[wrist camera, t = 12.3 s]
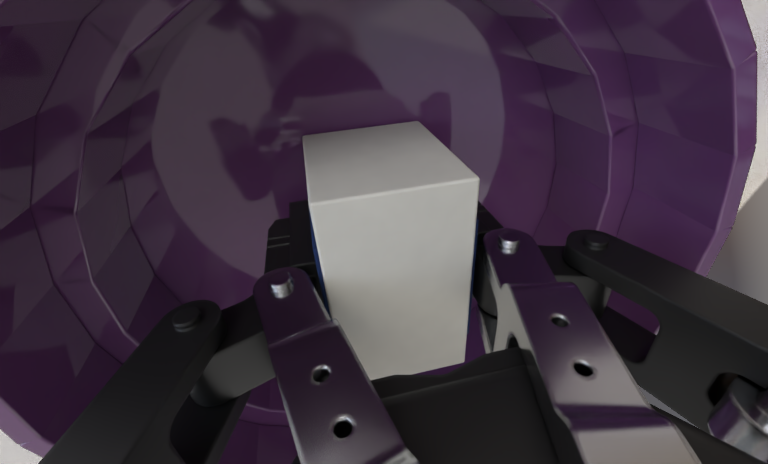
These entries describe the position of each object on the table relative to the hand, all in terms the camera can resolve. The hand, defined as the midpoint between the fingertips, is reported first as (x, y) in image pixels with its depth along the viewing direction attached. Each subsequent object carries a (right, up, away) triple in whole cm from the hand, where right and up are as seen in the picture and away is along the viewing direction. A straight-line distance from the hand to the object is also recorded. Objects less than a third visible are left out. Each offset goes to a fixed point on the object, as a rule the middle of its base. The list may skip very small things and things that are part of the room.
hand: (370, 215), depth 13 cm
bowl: (0, 0, +1) cm, 1 cm away
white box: (0, 0, 0) cm, 0 cm away
